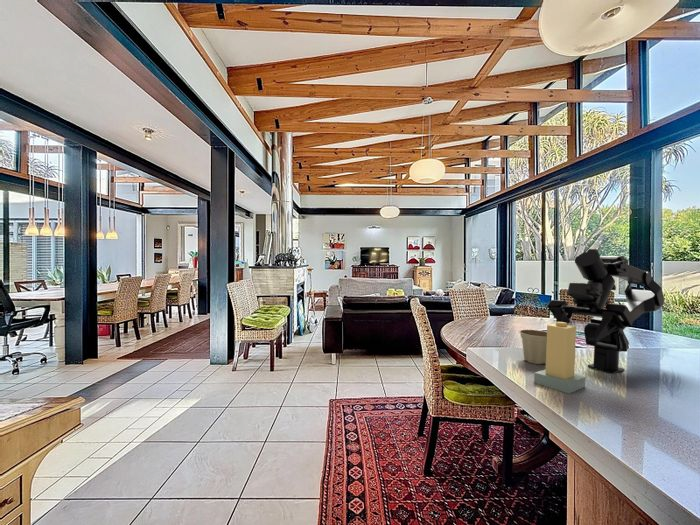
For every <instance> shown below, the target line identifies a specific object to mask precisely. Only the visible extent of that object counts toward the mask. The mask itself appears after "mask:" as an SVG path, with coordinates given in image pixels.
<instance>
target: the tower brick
mask: <svg viewBox="0 0 700 525" xmlns="http://www.w3.org/2000/svg"><path fill="white" fill-rule="evenodd" d="M546 332H547V346H546V364H545V369H546V374H549V375H552V376H556V377H559V378H563V379H567V378H570V377H573V376H574V374H575V370H576V369H575V368H576V367H575V365H576V361H575V360H576V342H577V341H576V338H577V337H576V336H577V326H573V325H569V324H568V325H567V323H565V322H556V321H555V323H551V324H547V325H546Z"/></svg>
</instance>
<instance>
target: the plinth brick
mask: <svg viewBox="0 0 700 525" xmlns="http://www.w3.org/2000/svg"><path fill="white" fill-rule="evenodd" d="M533 376H534V377H533V378H534V381H533V382H534V383H535V384H537V385H540V384H541V385H540V386H543V385H544V387H546V388H550V389H552V390H556V391H560V392H563V393H566V394H568V395H569V394H571V393H574V392H576V390H577V391H579V390H581V389H580V388H582V389H584V388H583V387H585V388H586V376H584V375H580V374H576V373H574V376H573V377H570V378H567V379H563V378H559V377H556V376H552V375H549V374H546V368H545V369H542V370H539V371H535V372H534V374H533ZM578 389H579V390H578Z"/></svg>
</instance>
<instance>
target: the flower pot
mask: <svg viewBox="0 0 700 525" xmlns="http://www.w3.org/2000/svg"><path fill="white" fill-rule="evenodd" d="M518 332H519V334H520V338H521V340H522V341H521V342H522V351H523V359H524V361H527V363H530V364H534V365H535V364H536V365H542V364H543V365H546V346H547V331H543V330H537V329H520V330H519V331H518Z"/></svg>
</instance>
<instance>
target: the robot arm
mask: <svg viewBox="0 0 700 525" xmlns="http://www.w3.org/2000/svg"><path fill="white" fill-rule="evenodd" d="M574 264H575V265H576V267H577V268H578V271H579V272H580V274H581V276H582V278H583V279H584V280H587V282H586V283H585V282H580V283H579V282H570V283H569V284H568V289H567V293H566V294H567V296H570V298H573V299H572V302H573V304H576V305H569V304H568V303H567V302H566V300H563V299H562V300H559V299H551V300H550V301H549V302H548V304H547V306H546V307H547V308H548V309H549V311H550V312H551V314H552V316H554V318H555V319H556V320H555V323H556V322H565V323H567V325H568V326H569V324H570V323H571V320H570V319H571V318H572V316H573V315H582V316H586V317H592V318H589V321H588V322H587V323H586V324H585V326H584V330H583V333H584V337H585V338H584V339H585V344H586V345H587V346H593V363H591V364H587V368H591V369H595V370H599V371H601V372H606V373H609V374H616V373H619V372H623V371H625V368H623V367H619V366H620V364H619V363H620V352H626V353H627V352H628V350H629V348H630V347H629V346H630V341H629V339H628V338H627V336H626V334H625V332H624V330H625V329H626V328H630V327H632V326H633V323H634V322H635V321H636V320H637V319H638V318H639V317H641V316H642V314H644V313H652V312H656V311H658V310H660V309H661V307H663V306H664V304H665V297H664V293H663V289H662V288H663V287H662V286H661V285H660V284H659V283H657V282H656V281H655V280H654V279H653V277H652V274H651V272H650V271H648V270H643V269H640V268H638V267H635V266H632V265H630V264H629V260H628V259H627V258H625V257H624V256H622V255H600V253H599V250H598V248H588V250H587V251H585V252H583V253H580V254H578V255H577V256H576V257H575V258H574ZM614 277H615V278H617V279H621V280H624V281H627V283H628V284H627V286H626V288H625V289H624V295H625V298H626V302H624V303H623V304H620V303H619V304H618V303H610V301H609V297H610V294H611V292H612V291H616V290H617V287H616V286H617V285H616V279H615V278H614ZM632 284H639V285H645V287H647V289H648V290H647V289H636V288H635V289H634V288H632Z"/></svg>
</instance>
